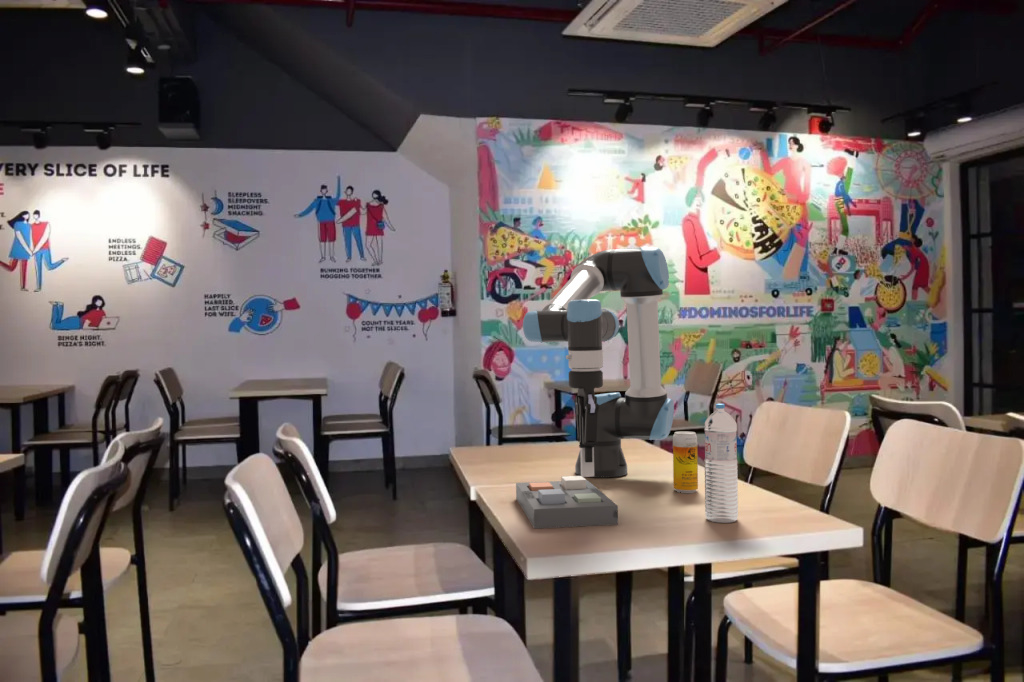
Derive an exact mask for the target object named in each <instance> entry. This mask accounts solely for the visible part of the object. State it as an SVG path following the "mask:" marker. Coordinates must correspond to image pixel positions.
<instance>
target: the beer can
mask: <svg viewBox="0 0 1024 682" xmlns="http://www.w3.org/2000/svg"><path fill="white" fill-rule="evenodd" d="M672 450H673V451H672V456H673V457H672V461H673V463H672V465H673V466H672V467H673V469H672V470H673V471H672V472H673V475H672V477H673V481H672V482H673V483H672V484H673V489H674V490H675V492H676V491H677V493H680V492H681V494H695V493H696V492H697V490H698V488H699V473H698V472H699V471H698V469H699V468H698V467H699V466H698V465H699V464H698V460H699V459H698V456H699V455H698V436H697V433H696V432H695V431H686V430H685V431H683V430H682V431H675V432H674V434H673V436H672Z"/></svg>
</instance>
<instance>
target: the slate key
mask: <svg viewBox="0 0 1024 682" xmlns="http://www.w3.org/2000/svg"><path fill="white" fill-rule="evenodd" d="M538 502H539V504H540V505H542V504H565V493H564V492H563V491H562V490H561V489H547V490H538Z"/></svg>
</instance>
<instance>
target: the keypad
mask: <svg viewBox="0 0 1024 682" xmlns="http://www.w3.org/2000/svg"><path fill="white" fill-rule="evenodd" d="M540 482H541V481H531V482H529V481H528V482H526V481H525V482H524V481H523V482H515V497H516V501H517V502H518V504H519V506H520V508H521V509H522V511H523V512H524V514H525V516H526V517H527V518H528V519H527V520H529V522H530V524H531V526H532V527H533V529H547V528H549V529H553V528H572V527H590V526H591V527H593V526H614V525H619V505H617V504H616V503H615V502H614V501H613V500H612V499H611V498H610V497H608V496H607V495H606V494H605V493H603V492H602V491H601V490H600V489H599V488H597V487H596V486H595V485H594V484H593V483H591V482H590V481H589V480H587V479H586V489H566V490H564V489H563V488H562V487H561V480H557V481H555V480H554V481H548V482H549V483H550V484H551V485H552V486H553V489H561V490H562V491H563V492H564V493H565V504H542V505H540V504H539V502H538V491H530V490H529V483H540ZM584 493H596V494H597V495H598V496H599V497H601V502H588V503H576V502H575V501H574V494H584Z"/></svg>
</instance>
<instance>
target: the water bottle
mask: <svg viewBox="0 0 1024 682" xmlns="http://www.w3.org/2000/svg"><path fill="white" fill-rule="evenodd" d="M725 406H726V404H725V403H716V404H715V411H713V413H711V414H709V416H708V417H707V418H706V420H705V421H704V423H703V426H704V427H703V428H704V505H705V506H704V507H705V508H704V512H705V518H706V520H708V521H709V522H713V523H718V524H719V523H720V524H721V523H722V524H730V523H734V522H737V520H738V519H739V515H738V514H739V507H738V506H739V503H738V502H739V498H738V496H739V491H738V489H739V487H738V483H739V482H738V479H739V478H738V475H739V474H738V456H737V455H738V451H737V449H738V447H737V445H738V444H737V431H738V424H737V422H736V420H735V418H733V416H732V415H731V414H729V413H728V412H726V411H725Z"/></svg>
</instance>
